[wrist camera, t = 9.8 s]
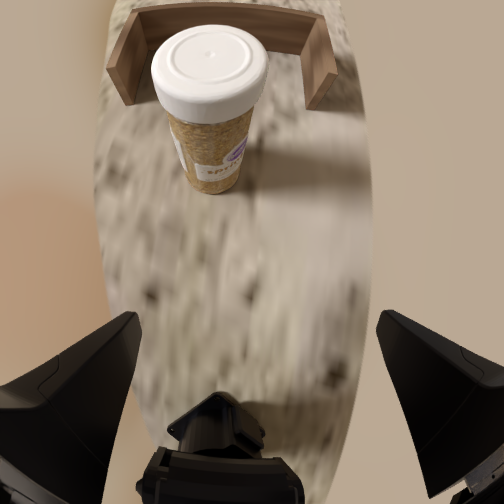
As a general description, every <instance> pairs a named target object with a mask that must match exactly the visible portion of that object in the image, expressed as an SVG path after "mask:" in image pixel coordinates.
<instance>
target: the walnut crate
mask: <svg viewBox="0 0 504 504" xmlns="http://www.w3.org/2000/svg"><path fill="white" fill-rule="evenodd" d="M203 25H225V26H231V27H235V28H238V29H241V30H243V31H246V32H247V33H249V34H251V35H252V36H254V37H255V38H256V39H257V40H258V41H259V42H260V43H261V44H262V45H263V47H264V48H265V50H266V51H275V52H282V53H289V54H296V55H300V58H301V66H302V74H303V84H304V94H305V104H306V109H309V110H315V108H316V107H317V105H318V104H319V102H320V101H321V99H322V98H323V96H324V95H325V93H326V92H327V90H328V89H329V87H330V86H331V84H332V83H333V81H334V80H335V78H336V77H337V75H338V72H337V67H336V62H335V58H334V53H333V49H332V45H331V41H330V37H329V33H328V29H327V25H326V21H325V18H324V16H323V15H319V14H314V13H310V12H305V11H300V10H294V9H288V8H282V7H275V6H267V5H258V4H246V3H228V2H196V3H177V4H166V5H157V6H149V7H142V8H136V9H132V11H131V13H130V15H129V17H128V19H127V21H126V23H125V25H124V27H123V29H122V31H121V33H120V35H119V38H118V40H117V42H116V44H115V47H114V49H113V51H112V54H111V56H110V59H109V61H108V64H107V67H106V70H107V72H108V73H109V75H110V77H111V79H112V81H113V83H114V85H115V87H116V89H117V91H118V92H119V94H120V96H121V98H122V100H123V102H124V104H125V105H133V104H134V100H135V96H136V92H137V88H138V84H139V81H140V77H141V73H142V70H143V67H144V63H145V60H146V57H147V54H148V51H149V50H158V49H159V48H160V46H161V45H162V44H163V43H164V42H165V41H167V40H168V39H169V38H170V37H172V36H174V35H175V34H177V33H179V32H181V31H184V30H186V29H189V28H193V27H196V26H203Z"/></svg>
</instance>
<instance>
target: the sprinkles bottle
mask: <svg viewBox="0 0 504 504" xmlns="http://www.w3.org/2000/svg"><path fill="white" fill-rule="evenodd" d="M268 68H269V58H268V54H267V52H266V50H265V48H264V47H263V45H262V44H261V43H260V42H259V41H258V40H257V39H256V38H255V37H254V36H252V35H251V34H249V33H247V32H246V31H243V30H241V29H238V28H235V27H231V26H225V25H203V26H196V27H193V28H189V29H186V30H184V31H181V32H179V33H177V34H175V35H174V36H172V37H170V38H169V39H168V40H167V41H165V42H164V43H163V44H162V45H161V46H160V48H159V49H158V50H157V52H156V54H155V56H154V58H153V61H152V66H151V73H152V78H153V82H154V86H155V90H156V93H157V96H158V99H159V101H160V103H161V104H162V106H163V107H164V108H165V109H166V111H167V114H168V118H169V122H170V129H171V133H172V136H173V139H174V142H175V145H176V148H177V151H178V154H179V157H180V160H181V163H182V165H183V167H184V169H185V176H186V178H187V180H188V182H189V184H191V186H192V187H193V188H194V189H196V190H197V191H199V192H202V193H206V194H208V193H209V194H216V193H221V192H223V191H225V190H227V189H229V188H230V187H231V186H233V185H234V183H235V182H236V181H237V179H238V177H239V173H240V164H241V162H242V159H243V155H244V151H245V147H246V142H247V138H248V130H249V125H250V121H251V117H252V113H253V109H254V105H255V104H256V102H257V101H258V100H259V98H260V96H261V94H262V91H263V88H264V85H265V81H266V77H267V73H268Z"/></svg>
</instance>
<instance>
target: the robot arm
mask: <svg viewBox="0 0 504 504" xmlns="http://www.w3.org/2000/svg"><path fill="white" fill-rule="evenodd" d="M376 334H377V337H378V340H379V344H380V347H381V351H382V354H383V358H384V361H385V364H386V367H387V370H388V372H389V375H390V377H391V380H392V382H393V385H394V388H395V390H396V393H397V396H398V398H399V401H400V404H401V407H402V410H403V412H404V415H405V418H406V421H407V424H408V427H409V430H410V433H411V436H412V439H413V442H414V446H415V449H416V452H417V456H418V460H419V463H420V467H421V470H422V474H423V478H424V482H425V485H426V489H427V494H428V497H429V499H431V498H433V497H435V496H437V495H439V494H440V493H442V492H444V491H446V490H448V489H449V488H451V487H453V486H455V485H456V484H458V483H460V482H461V481H462V480H465V482H466V485H467V487H466V488H465V489H463V490H462V491H460V492H459V493H457V494H455V495H454V496H453V497H452V500H451V502H450V504H504V367H503V366H501V365H499V364H496V363H494V362H492V361H490V360H488V359H485V358H483V357H481V356H479V355H477V354H475V353H473V352H471V351H469V350H467V349H466V348H464V347H462V346H459V345H458V344H456V343H454V342H452V341H451V340H449V339H447V338H445V337H443V336H441V335H439V334H438V333H436V332H434V331H432V330H430V329H428V328H426V327H424V326H423V325H421V324H419V323H417V322H415V321H413V320H411V319H409V318H407V317H405V316H404V315H402V314H400V313H398V312H396V311H394V310H384V311H382V312H381V315H380V318H379V321H378V324H377V327H376ZM141 337H142V329H141V325H140V321H139V317H138V314H137V313H136V312H131V311H126V312H124V313H122V314H121V315H119V316H118V317H116V318H115V319H113V320H111V321H110V322H108V323H107V324H105V325H103V326H102V327H100V328H99V329H97V330H96V331H94V332H92V333H91V334H89V335H88V336H86V337H84V338H83V339H82V340H80V341H78V342H77V343H75V344H74V345H72V346H70V347H69V348H67V349H66V350H64V351H63V352H61V353H60V354H59V355H56V356H55V357H53V358H52V359H50V360H49V361H47V362H45V363H44V364H42V365H40V366H39V367H37V368H35V369H33V370H31V371H30V372H28V373H26V374H24V375H23V376H20V377H18V378H17V379H15V380H13V381H11V382H9V383H7V384H5V385H2V386H0V504H101V503H102V498H103V492H104V487H105V482H106V477H107V472H108V467H109V462H110V458H111V454H112V450H113V446H114V441H115V437H116V433H117V429H118V426H119V422H120V419H121V415H122V411H123V408H124V404H125V401H126V397H127V394H128V391H129V387H130V384H131V381H132V378H133V375H134V371H135V367H136V362H137V357H138V352H139V347H140V342H141ZM215 397H219V399H218V400H216V399H214V398H215ZM171 429H174V430H175V431H172V430H171ZM167 432H168V433H169V434H170V435H172V436H173V437H174V438H175V439H177V440H178V441H179V446H178V451H176V450H170V449H167V448H166V447H161V446H159V448H158V450H157V452H154V454H153V456H152V458H151V460H150V462H149V464H148V466H147V468H146V469H145V471H144V474H143V478H142V479H140V480H139V481H137V483H136V491H137V492H138V493H139V494H140V496H141V497H142V502H143V504H305V495H304V489H303V485H302V482H301V480H300V479H299V477H298V476H297V475H296V474H295V473H294V472H293V470H292V469H291V468H290V467H289V466H288V465H287V464H286V463H285V462H284V461H283V459H282V458H281V457H273V458H262V455H261V450H262V449H264V443H263V440H262V438H263V437H264V436H265V430H264V429H263V428H261V427H260V426H259V425H258V422H257V420H256V419H254V418H253V417H252V416H251V415H249V414H248V413H247V412H246V411H245V410H243V409H242V408H241V407H240V406H239V405H235V406H234V405H233V404H232V403H231V402H230V401H229V400H227V399H226V398H225V397H224V396H223V395H222V394H220V393H218V392H215V393H213V394H211V395H210V396H209V397H207V398H206V399H205V400H203V401H202V402H201V403H199V404H198V405H197V406H195V407H194V408H193V409H191V410H190V411H188V412H187V413H186V414H184V415H183V416H181V417H180V418H179V419H177V420H176V421H174V422H173V423H171V424H170V425H169V426H168V428H167ZM260 432H261V433H260Z"/></svg>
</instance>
